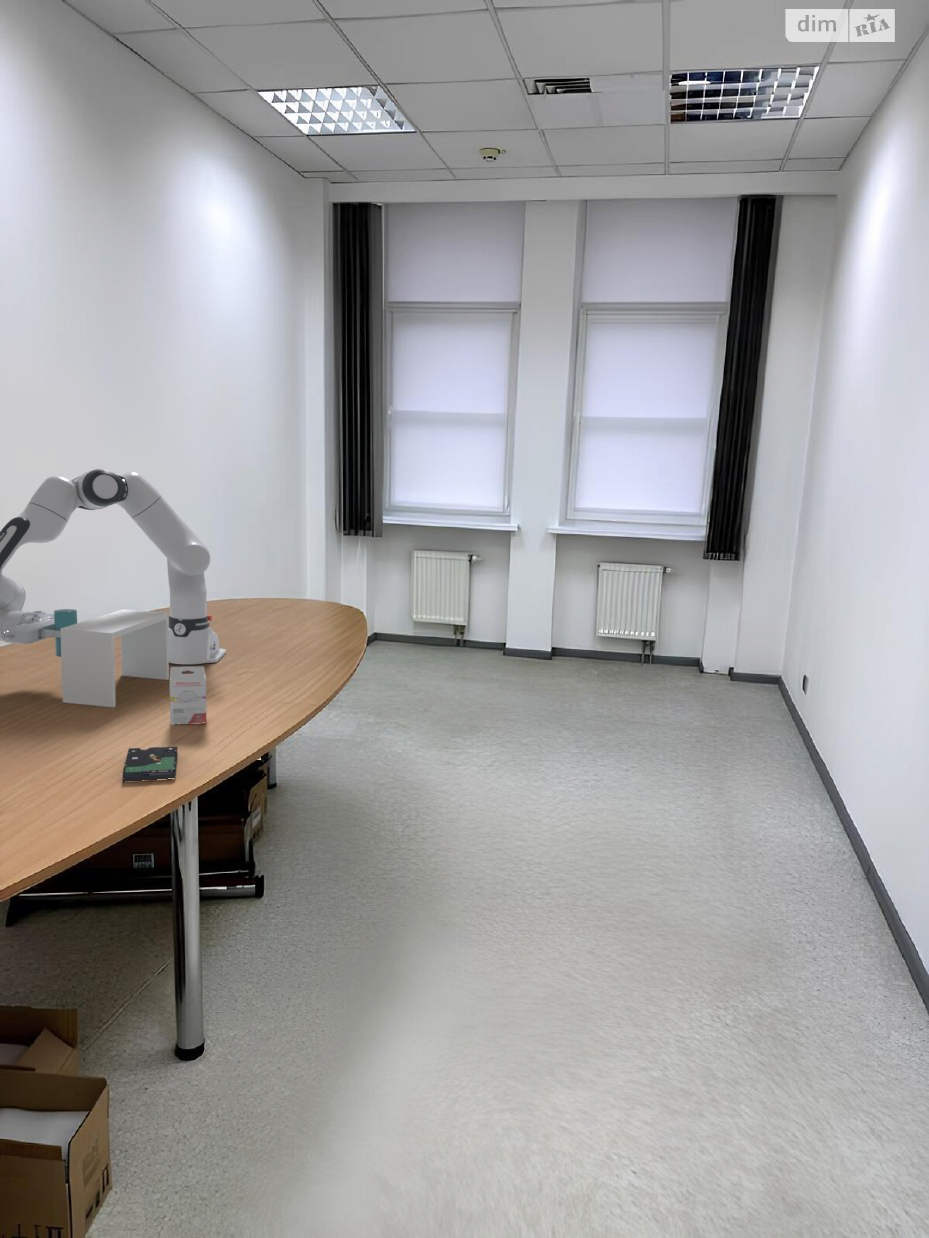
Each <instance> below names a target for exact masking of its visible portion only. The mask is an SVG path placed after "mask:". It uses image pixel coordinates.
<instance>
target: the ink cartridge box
mask: <svg viewBox="0 0 929 1238" xmlns="http://www.w3.org/2000/svg"><path fill="white" fill-rule="evenodd" d="M187 671H189V672H192V673H182V672H187ZM205 671H206V668H205V666H203V665H202V666H171V667H169V673H170V674H169V712H170V713H169V717H170V720H169V721H170V725H171V726H176V725H175V724H178V725H177V726H180V725H179V724H189V725H192V724H191V723H203V722H206V723H207V677H206V675H207V674H206V672H205Z"/></svg>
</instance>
